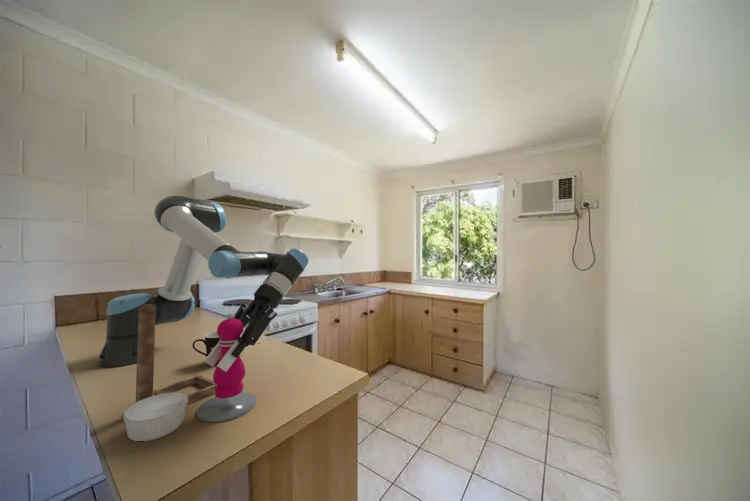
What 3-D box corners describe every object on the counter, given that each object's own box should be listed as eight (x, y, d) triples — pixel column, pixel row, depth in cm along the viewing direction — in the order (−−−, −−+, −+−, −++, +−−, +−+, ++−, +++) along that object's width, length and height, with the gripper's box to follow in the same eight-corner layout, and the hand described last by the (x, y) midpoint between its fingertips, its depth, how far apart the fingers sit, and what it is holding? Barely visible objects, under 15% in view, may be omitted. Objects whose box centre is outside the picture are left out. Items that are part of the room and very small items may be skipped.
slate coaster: (205, 397, 72) (206, 395, 72) (258, 391, 76) (258, 388, 76) (188, 426, 60) (188, 424, 60) (252, 416, 64) (252, 414, 64)
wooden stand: (198, 381, 82) (200, 295, 83) (219, 391, 76) (222, 298, 77) (121, 409, 67) (125, 303, 67) (141, 424, 61) (144, 307, 62)
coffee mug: (236, 358, 101) (237, 331, 101) (221, 367, 92) (222, 338, 93) (207, 357, 102) (208, 330, 102) (189, 366, 94) (190, 337, 94)
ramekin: (153, 449, 53) (154, 422, 53) (107, 442, 55) (108, 416, 55) (199, 416, 64) (200, 394, 64) (159, 411, 66) (160, 390, 66)
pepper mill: (211, 402, 63) (213, 316, 64) (213, 389, 70) (215, 311, 70) (245, 395, 67) (247, 314, 67) (244, 383, 73) (246, 309, 74)
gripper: (301, 301, 78) (248, 381, 63) (260, 296, 87) (205, 366, 72) (287, 284, 73) (226, 366, 58) (245, 281, 82) (184, 351, 68)
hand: (215, 366), depth 65 cm, fingers closed on pepper mill, 5 cm apart
